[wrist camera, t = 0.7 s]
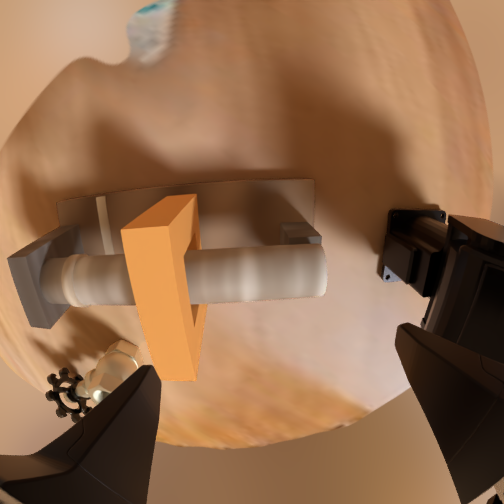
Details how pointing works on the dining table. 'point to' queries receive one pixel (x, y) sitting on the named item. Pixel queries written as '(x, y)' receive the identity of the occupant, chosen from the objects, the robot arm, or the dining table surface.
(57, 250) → the pipe stand
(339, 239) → the dining table surface
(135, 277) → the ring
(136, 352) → the valve
